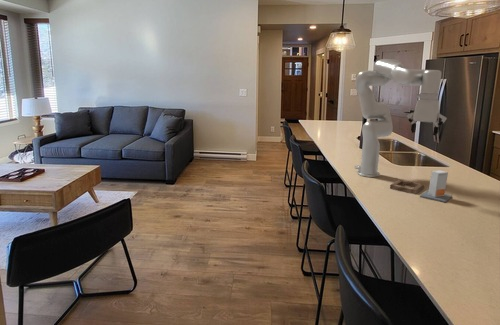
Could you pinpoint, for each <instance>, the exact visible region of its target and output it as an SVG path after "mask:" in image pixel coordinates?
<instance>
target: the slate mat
mask: <svg viewBox="0 0 500 325" xmlns="http://www.w3.org/2000/svg"><path fill="white" fill-rule="evenodd" d="M428 192H429V189H427V190H426V191H424V192H423V193H421V194H420V195H419V197H420V198H421V199H422V198H423V199H427V200H430V201H431V200H432V201H437V202H440V203H446V202H448V201H449V200H450V199H452V197H453V196H452V195H451V194H446V193H445V194H444V196H439V197H433V196H431V195H428Z"/></svg>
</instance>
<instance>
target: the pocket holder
mask: <svg viewBox="0 0 500 325" xmlns="http://www.w3.org/2000/svg"><path fill="white" fill-rule="evenodd" d="M389 189H391V190H395V191H399V192H405V193H409V194H413V195H416V194H418V193H420V192H421V191H422V190H423V189H425V184H423V183H419V182H413V181H410V180H408V181H407V180H404V179H398V180H397V181H395V182H393V183H391V184H390V185H389Z"/></svg>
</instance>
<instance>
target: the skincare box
mask: <svg viewBox="0 0 500 325" xmlns="http://www.w3.org/2000/svg"><path fill="white" fill-rule="evenodd" d="M448 176H449V172H447V171H444V170H432V171H431V175H430V179H429V181H430V182H429V186H428V187H429V188H428V191H429V192H428V195H431V196H433V197H439V196H444V194H446V189H447V188H446V187H447V183H448V182H447V181H448Z"/></svg>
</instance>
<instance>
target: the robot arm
mask: <svg viewBox="0 0 500 325" xmlns="http://www.w3.org/2000/svg"><path fill="white" fill-rule="evenodd" d="M391 80H392V81H393V82H394V83H397V84H398V85H399V84H400V85H403V86H409V87H410V86H412V87H413V86H419V87H420V86H421V88H420V93H418V94H417V93H416V94H417V95H416V97H417V98H419V99H418V100H417V101H416V105H415V108H414V111H413V112H410V113H409V114H407V115H406V118H407V119H408V121H409V123H410V125H411V129H410V131H411V133H413V134H414V133H416V131H417V130H416V128H417V123H418V122H421V123H430V124H431V123H433V124H434V127H433V134H432V135H433V136H436V135H437V134H439V128H440V126H442V125H443V124H444V123H445V122H446V120H447V119H448V118H447V117H446V116H444V115H442V113H440V100H439V95H440V94H439V93H440V85H441V80H442V71H441V70H438V69H418V68H417V69H416V68H415V69H413V68H412V69H411V68H405V65H404V64H403V63H402V62H400V60H398V59H392V58H390V59H389V58H381V59H379V60H377V61H376V62H375V63H374V65H373V70H362V71H359V73H358V74H357V75H356V78H355V81H354V83H355V89H356V92H357V95H358V99H359V104H360V110H361V116H362V117H363V118H364V119H366V120H369V121H366V122H365V123H364V124H363V125H362V128H361V131H362V146H361V147H362V148H361V158H360V159H361V161H360V165H357V164H355V165H354V169H355V170H357V171H356V172H357V175H359V176H362V177H367V178H378V177H380V175H381V174H380V172H379V171H378V169H379V158H380V151H381V150H380V149H381V148H380V147H381V143H380V141H379V139H378V138H384V137H385V138H386V137H389V136H391V135H392V133H393V131H394V130H393V129H394V128H393V126H394V125H393V120H392V116H391V111H390V107H389V105H388V104H387V103H385V102H382V101H376V96H375V93H374V91H373V90H372V88H371V87H382V86H385V85H386V84H388V83H389V82H390V81H391ZM412 116H413V117H412ZM439 119H441V120H440V122H439Z"/></svg>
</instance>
